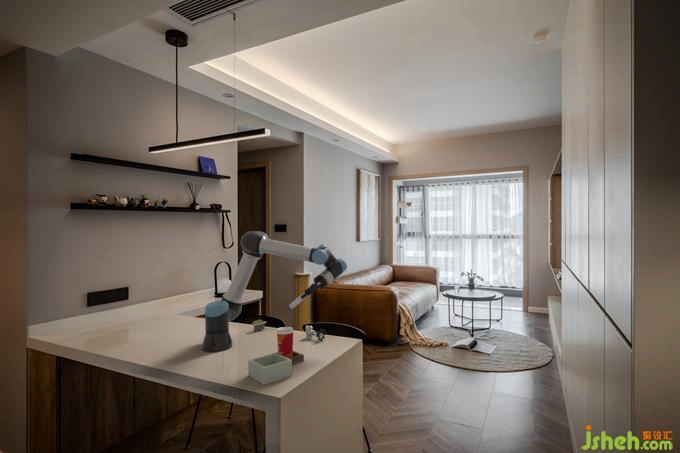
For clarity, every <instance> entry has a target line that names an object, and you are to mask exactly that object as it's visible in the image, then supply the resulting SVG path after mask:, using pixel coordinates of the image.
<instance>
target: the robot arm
mask: <svg viewBox="0 0 680 453" xmlns="http://www.w3.org/2000/svg"><path fill="white" fill-rule="evenodd" d="M240 247H241V251H242V254H243V255H242V257H241V259H240V261H239V263H238V267H237V268H236V270H235V274H234V275H233V277H232V280H231V281H230V282H231V283H230V285H229V288H228V290H227V292H225V293H223V295H222V296H221V299H220V300H215V301H211V302H208V303H207V304H206V305H205V308H204V309H205V310H204V320H205V324H204V325H205V329H204V330H205V335H204V338H203V341H202V343H201V344H202V345H201V350H202V351H204V352H221V351H225V350H229V349H231V348H232V347H233V340H232V337H231V334H230V330H229V329H230V328H229V324H230V323H229V322H232V321H234V320H236V319H237V318H238V317H239V316H240V315H241V312H242V311H243V310H242V304H243V295H244V293H245V290H246V289H247V286H248V284H249V281H250V279H251V277H252V274H253V272H254V270H255V268H256V266H257V262H258V261H259V260H260V259H262V258H263V256H264V254H269V255H274V256H279V257H284V258H288V259H293V260H298V261H304V262H309V263H313V264H315V265H317V266H318V265H319V266H321V265H323V266H324V267H325V269H324V270H322V271H321V272H320V273H319V274H318V275H316V276H315V277H314V278H313V283H312V284H310V286H309V287H308V288H307V289H304V290H303V291H304V292H302V293H301V294H300V295H299V296H297V297H296V298H295V299H294V300H293V301H292V302H291V303H289V304H288V307H289V308H290V309H291V310H293V309H294V308H295V307H297V306H298V305H299V304H300V303H303V301H304V300H305V299H307V298H308V296H310V295H312V294H313V293H315V292H316V291H318V290H325V288H327V287H328V286H329V285H330V284H333V283H334V281H335V280H336V279H337V278H338V277H339V276H341V275H342V274H343V273H344V272H346V270H347V269H348V265H347V263H346V261H345V260H343V259H342V258H337V257H335V256H334V254H333V253H332V252H331V250H330V249H329V247H327V246H326V245H325V244H324V243H322V244H320V245H319V246H317V247H311V246H306V245H300V244H296V243H290V242H286V241H281V240H276V239H270V237H269V236H268V234H266V233H265V232H263V231H260V230H257V231H256V230H255V231H253V230H251V231H250V230H249V231H247V232H245V233H244V234H243V235H242V236H241V238H240Z"/></svg>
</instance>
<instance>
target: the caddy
mask: <svg viewBox="0 0 680 453" xmlns="http://www.w3.org/2000/svg"><path fill="white" fill-rule="evenodd" d="M247 362H248V363H247V366H248V367H247V369H248V377H249V378H252V379H253V380H255V381H256V382H259V383H260V384H261V385H262V384H263V385H264V386H265V385H269V384H271V383H273V382H278V381H280V380H284V379H286V378H289V377H292V376H293V365H292V360H291V359H289V358H286V357H284V356H282V355H279V354H277V353H276V352H273V353H269V354H266V355H262V356H258V357H254V358H251V359H248V360H247Z"/></svg>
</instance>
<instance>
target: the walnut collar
mask: <svg viewBox="0 0 680 453" xmlns="http://www.w3.org/2000/svg"><path fill="white" fill-rule="evenodd" d="M275 353H277V354H278V351H276V352H275ZM289 359H291V360H292V366H294V365H297V364H300V363H304V361H305V354H303V353H301V352H299V351H296V350H293V356H292V357H291V358H289Z"/></svg>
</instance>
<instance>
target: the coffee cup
mask: <svg viewBox="0 0 680 453" xmlns="http://www.w3.org/2000/svg"><path fill="white" fill-rule="evenodd" d="M294 332H295V331H294V328H293V327H292V326H284V327H282V326H281V327H278V328H277V329H276V332H275V333H276V339H277V340H276V341H277V350H278V351H277V352H278V354H279V355H282V356H284V357H286V358H291V357H292V356H293V351H294Z"/></svg>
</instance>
